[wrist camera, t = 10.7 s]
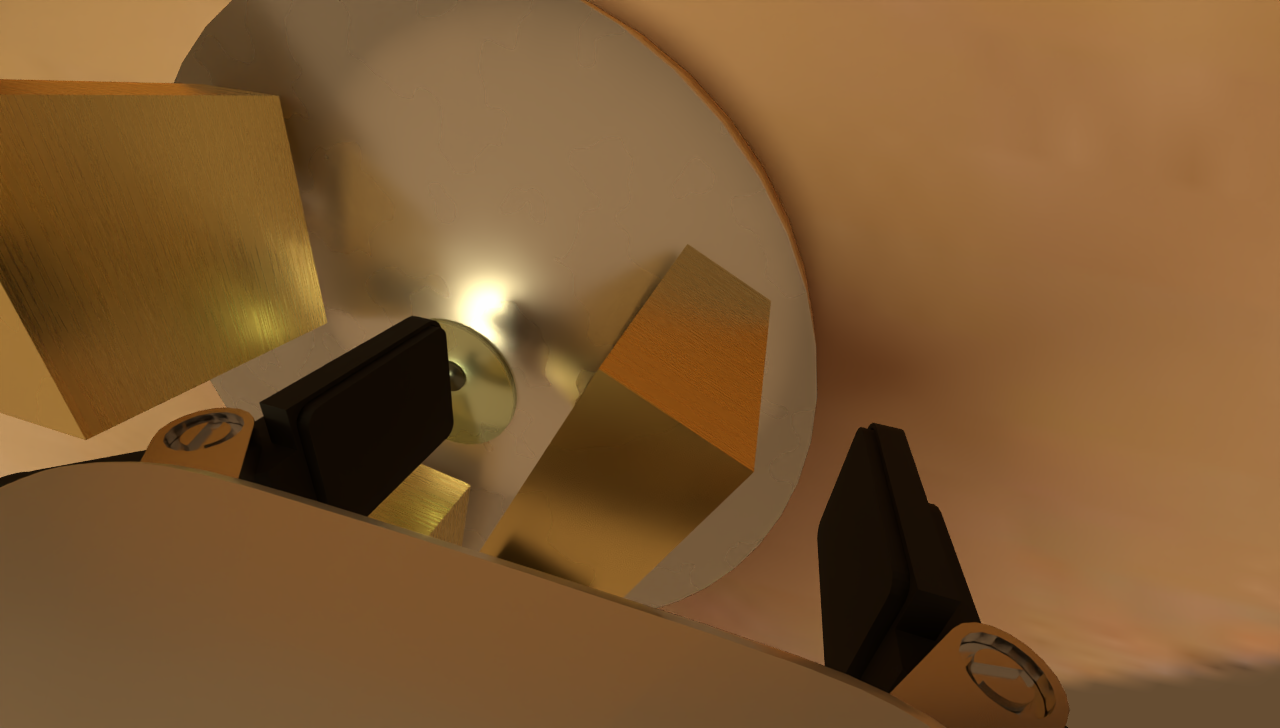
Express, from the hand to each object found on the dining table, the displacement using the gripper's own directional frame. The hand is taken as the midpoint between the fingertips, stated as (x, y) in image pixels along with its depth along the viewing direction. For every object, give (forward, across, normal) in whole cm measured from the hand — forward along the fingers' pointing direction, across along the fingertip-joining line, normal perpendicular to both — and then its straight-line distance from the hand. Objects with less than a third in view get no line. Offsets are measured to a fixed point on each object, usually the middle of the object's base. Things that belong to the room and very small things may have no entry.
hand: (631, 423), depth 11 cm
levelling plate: (+5, +7, +2) cm, 9 cm away
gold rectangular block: (+3, +12, -2) cm, 12 cm away
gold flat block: (+3, 0, 0) cm, 3 cm away
